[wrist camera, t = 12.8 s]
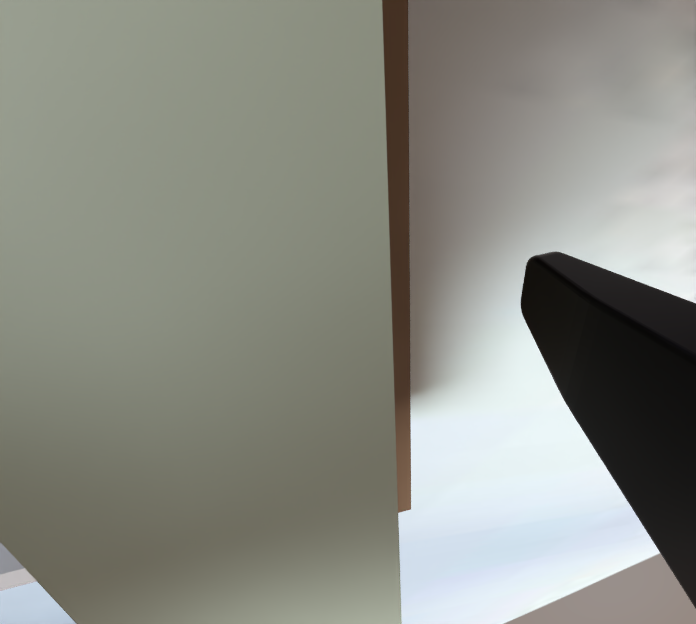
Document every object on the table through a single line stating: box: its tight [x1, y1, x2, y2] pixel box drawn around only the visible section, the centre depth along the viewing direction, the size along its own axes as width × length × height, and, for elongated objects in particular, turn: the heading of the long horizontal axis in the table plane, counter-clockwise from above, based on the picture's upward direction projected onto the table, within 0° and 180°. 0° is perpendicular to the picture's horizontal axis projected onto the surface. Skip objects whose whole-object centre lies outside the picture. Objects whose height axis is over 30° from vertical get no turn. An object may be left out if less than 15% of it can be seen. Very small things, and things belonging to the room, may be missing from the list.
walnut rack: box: [382, 0, 411, 513], centre depth 12 cm, size 9×24×4 cm, turn 5°
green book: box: [0, 0, 401, 624], centre depth 9 cm, size 4×14×10 cm, turn 4°
